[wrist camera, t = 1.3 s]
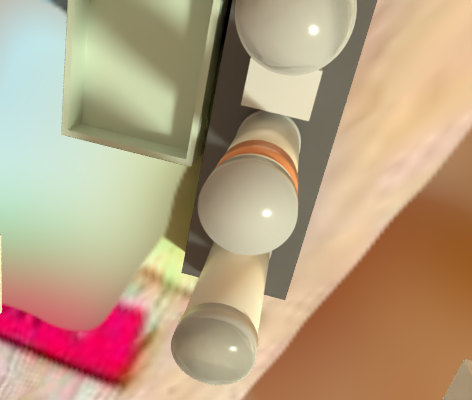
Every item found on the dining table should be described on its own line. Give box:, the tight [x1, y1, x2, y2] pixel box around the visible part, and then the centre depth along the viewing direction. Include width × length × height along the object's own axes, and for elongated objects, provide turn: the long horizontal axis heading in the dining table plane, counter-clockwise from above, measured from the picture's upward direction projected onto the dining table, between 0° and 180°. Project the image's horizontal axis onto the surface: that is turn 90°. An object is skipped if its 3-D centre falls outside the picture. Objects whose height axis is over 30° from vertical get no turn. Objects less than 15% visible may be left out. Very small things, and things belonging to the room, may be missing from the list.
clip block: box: [182, 0, 377, 300], centre depth 32 cm, size 9×26×6 cm, turn 168°
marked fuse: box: [198, 110, 301, 255], centre depth 26 cm, size 5×5×13 cm
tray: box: [61, 0, 229, 167], centre depth 33 cm, size 10×13×3 cm
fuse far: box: [171, 242, 272, 385], centre depth 30 cm, size 5×5×13 cm
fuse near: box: [235, 0, 357, 76], centre depth 23 cm, size 5×5×13 cm
